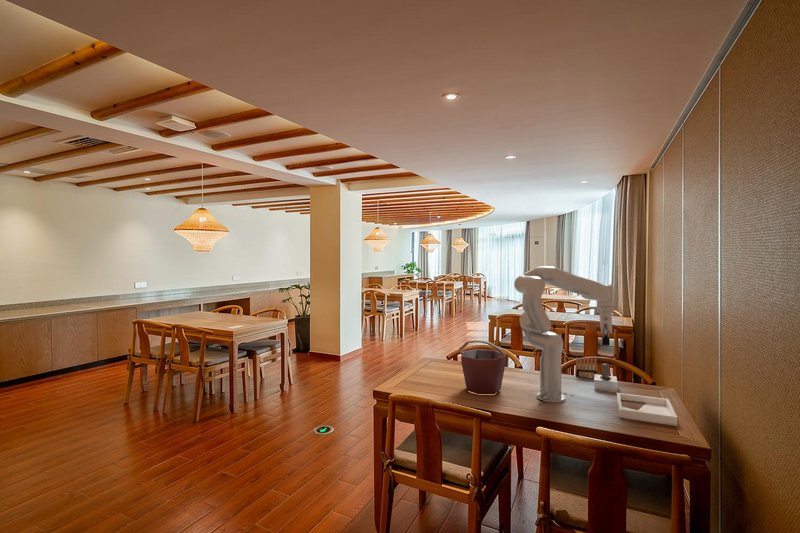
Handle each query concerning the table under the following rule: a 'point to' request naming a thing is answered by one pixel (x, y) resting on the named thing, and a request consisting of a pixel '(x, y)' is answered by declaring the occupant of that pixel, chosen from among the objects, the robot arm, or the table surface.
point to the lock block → (605, 383)
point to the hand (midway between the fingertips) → (605, 343)
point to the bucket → (483, 368)
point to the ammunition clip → (586, 368)
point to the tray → (648, 409)
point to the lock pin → (605, 371)
